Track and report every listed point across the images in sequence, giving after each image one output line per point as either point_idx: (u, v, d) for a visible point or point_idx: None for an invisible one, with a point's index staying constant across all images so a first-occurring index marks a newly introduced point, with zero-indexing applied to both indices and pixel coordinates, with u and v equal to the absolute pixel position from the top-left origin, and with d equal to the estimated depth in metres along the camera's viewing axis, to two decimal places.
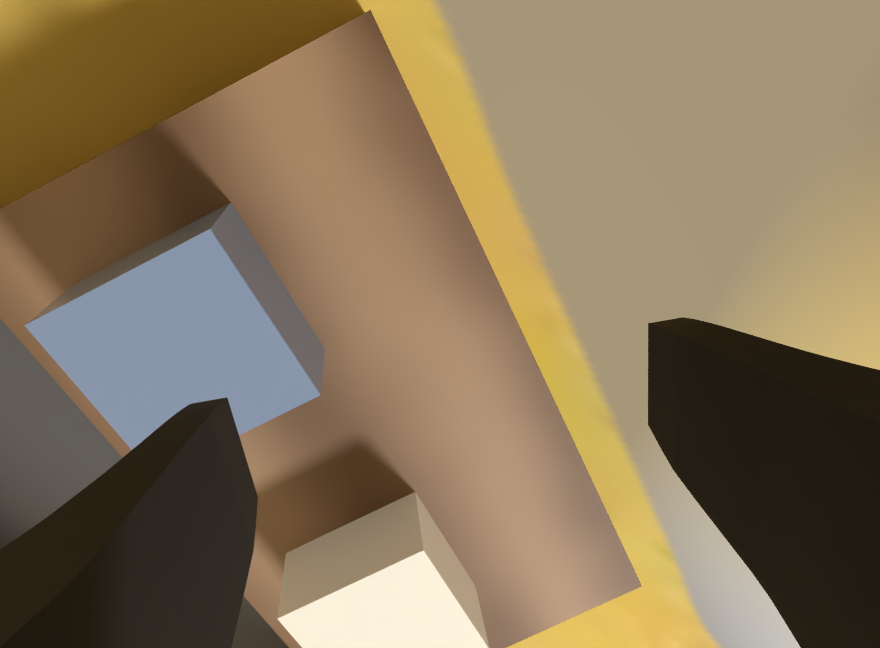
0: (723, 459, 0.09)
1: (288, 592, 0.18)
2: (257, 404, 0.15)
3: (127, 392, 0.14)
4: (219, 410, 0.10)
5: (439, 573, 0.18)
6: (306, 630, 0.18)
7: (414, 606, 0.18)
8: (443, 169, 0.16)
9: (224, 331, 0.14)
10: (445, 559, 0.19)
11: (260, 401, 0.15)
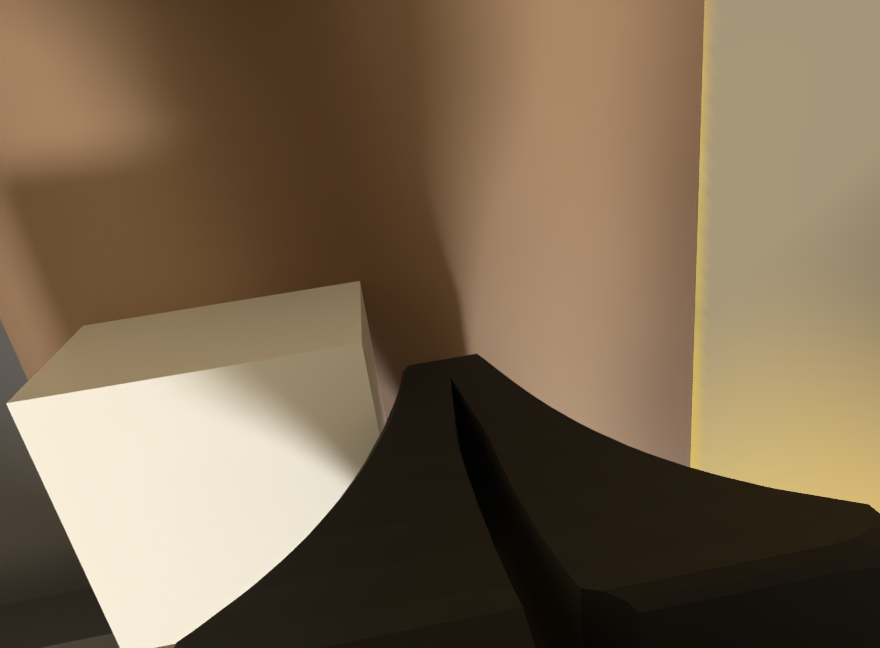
0: (481, 505, 0.09)
1: (54, 371, 0.09)
2: None
3: None
4: (447, 370, 0.10)
5: (374, 408, 0.09)
6: (65, 450, 0.08)
7: (304, 465, 0.09)
8: None
9: None
10: (380, 411, 0.10)
11: None
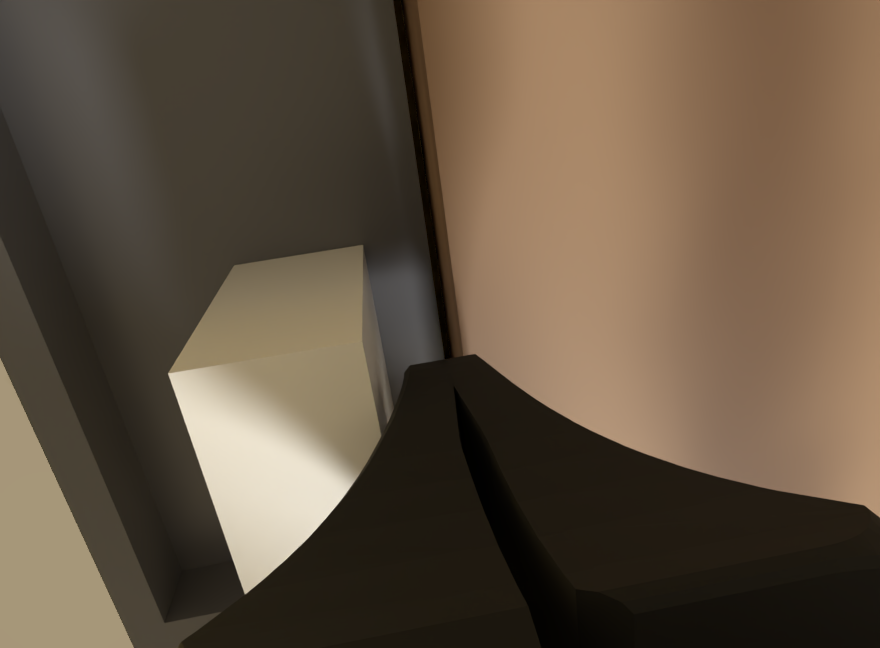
0: None
1: (272, 262, 0.12)
2: None
3: None
4: (449, 370, 0.10)
5: (194, 439, 0.09)
6: None
7: None
8: None
9: None
10: (299, 470, 0.09)
11: None
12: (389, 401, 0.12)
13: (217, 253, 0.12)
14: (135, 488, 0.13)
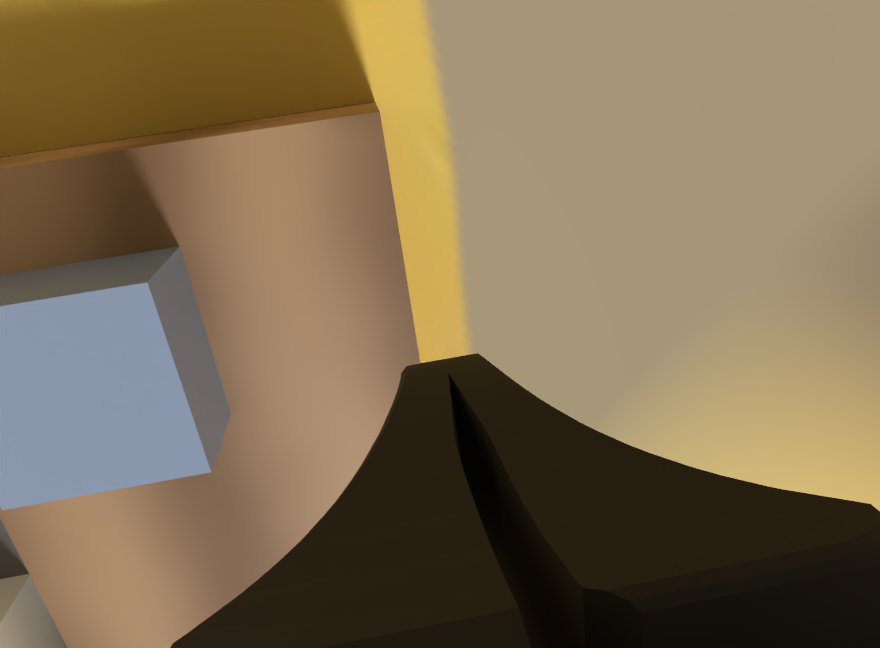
0: (482, 505, 0.09)
1: None
2: (140, 465, 0.14)
3: (0, 418, 0.13)
4: (446, 371, 0.10)
5: None
6: None
7: None
8: (404, 278, 0.16)
9: (129, 385, 0.13)
10: None
11: (145, 462, 0.14)
12: None
13: None
14: None
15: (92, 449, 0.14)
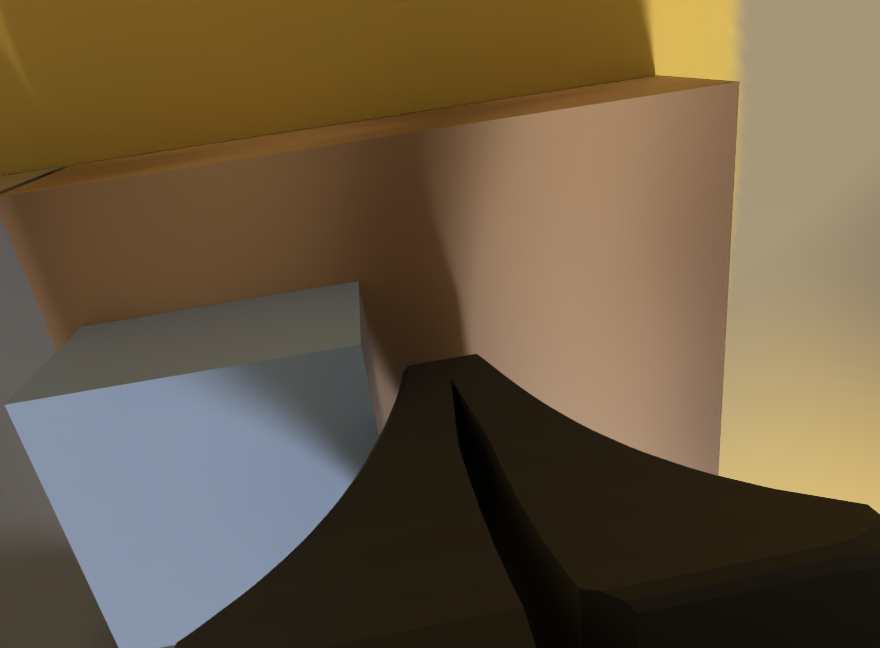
0: (480, 506, 0.09)
1: None
2: None
3: (131, 535, 0.09)
4: (447, 370, 0.10)
5: None
6: None
7: None
8: (725, 307, 0.12)
9: (316, 487, 0.09)
10: None
11: None
12: None
13: None
14: None
15: (254, 574, 0.10)
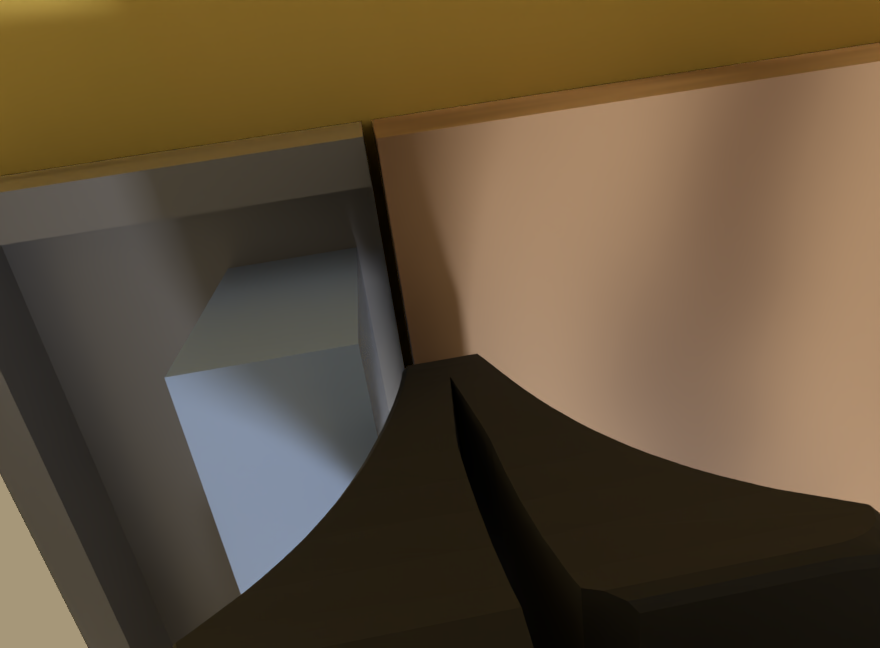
0: (481, 505, 0.09)
1: None
2: None
3: None
4: (447, 371, 0.10)
5: None
6: None
7: None
8: None
9: None
10: None
11: None
12: None
13: None
14: None
15: None
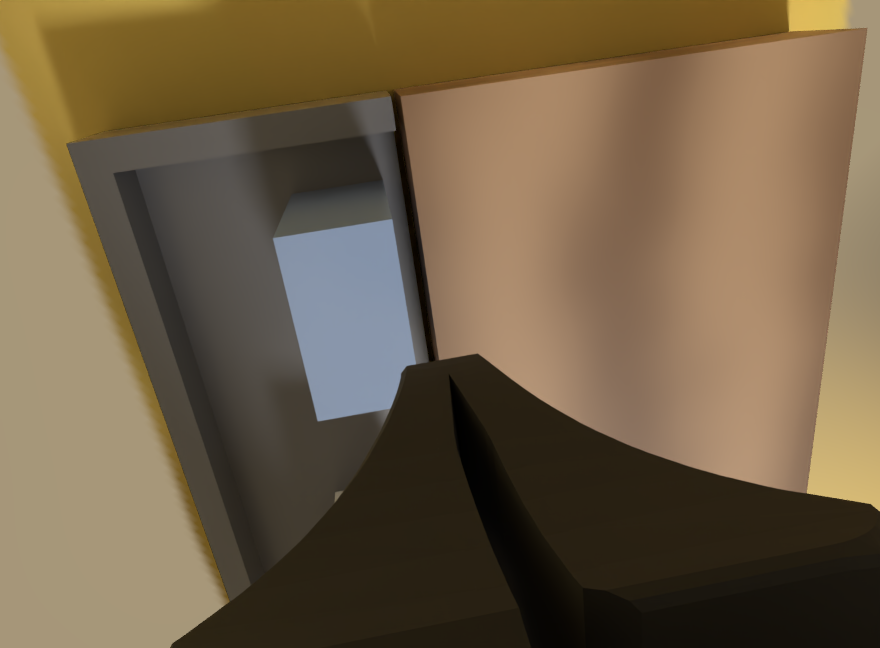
0: (482, 505, 0.09)
1: None
2: None
3: None
4: (446, 371, 0.10)
5: None
6: None
7: None
8: (845, 186, 0.17)
9: None
10: None
11: None
12: None
13: (326, 486, 0.21)
14: None
15: None
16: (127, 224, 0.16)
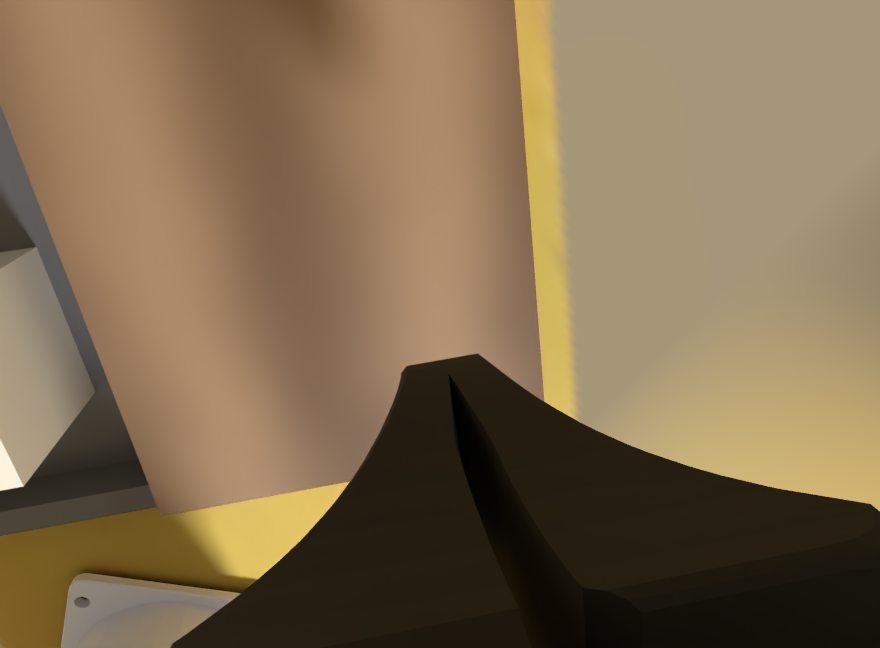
0: (482, 505, 0.09)
1: None
2: None
3: None
4: (445, 370, 0.10)
5: None
6: None
7: None
8: None
9: None
10: None
11: None
12: (58, 360, 0.17)
13: None
14: None
15: None
16: None
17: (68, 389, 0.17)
